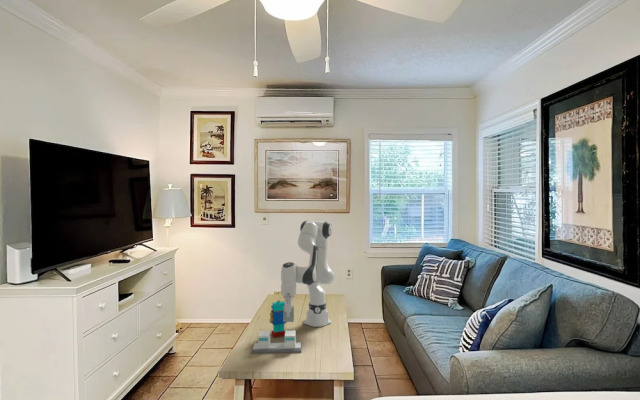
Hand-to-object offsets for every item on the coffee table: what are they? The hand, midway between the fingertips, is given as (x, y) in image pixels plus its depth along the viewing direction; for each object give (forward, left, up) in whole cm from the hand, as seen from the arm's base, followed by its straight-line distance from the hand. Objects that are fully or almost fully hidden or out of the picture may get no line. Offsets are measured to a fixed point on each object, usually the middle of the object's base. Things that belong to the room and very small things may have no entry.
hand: (288, 315), depth 207 cm
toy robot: (-20, -8, -20) cm, 29 cm away
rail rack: (0, -7, -20) cm, 21 cm away
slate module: (0, 0, -3) cm, 3 cm away
